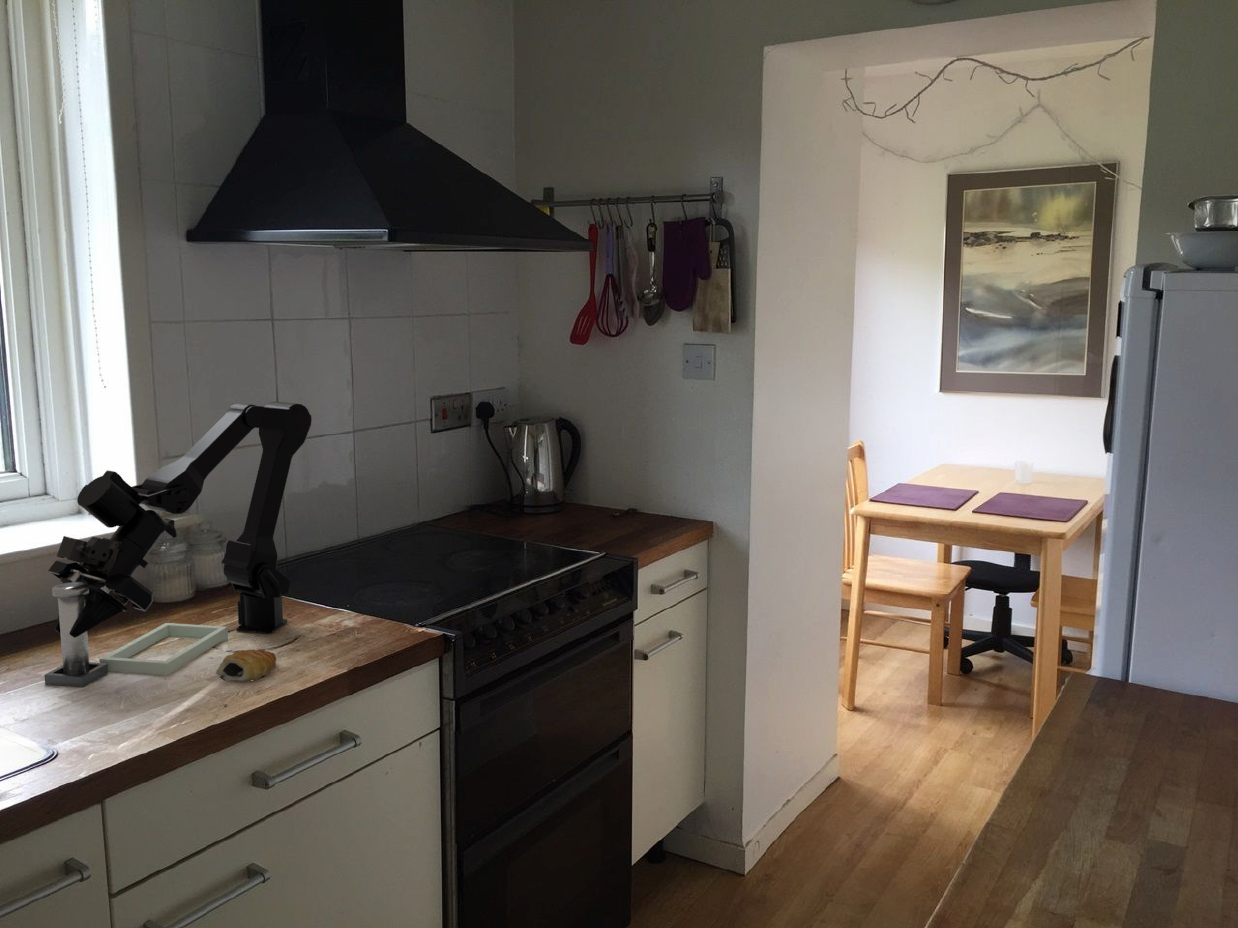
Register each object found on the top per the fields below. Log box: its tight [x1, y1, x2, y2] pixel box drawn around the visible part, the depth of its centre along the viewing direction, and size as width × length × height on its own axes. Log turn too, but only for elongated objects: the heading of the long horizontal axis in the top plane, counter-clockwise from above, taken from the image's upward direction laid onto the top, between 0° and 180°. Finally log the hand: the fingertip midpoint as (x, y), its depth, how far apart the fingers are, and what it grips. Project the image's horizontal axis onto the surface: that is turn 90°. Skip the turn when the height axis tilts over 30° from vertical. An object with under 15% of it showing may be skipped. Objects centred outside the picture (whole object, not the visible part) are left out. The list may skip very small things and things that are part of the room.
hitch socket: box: [44, 661, 109, 689], centre depth 161 cm, size 6×6×2 cm
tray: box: [98, 622, 229, 676], centre depth 173 cm, size 11×18×2 cm, turn 171°
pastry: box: [215, 648, 277, 683], centre depth 167 cm, size 9×7×4 cm
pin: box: [51, 582, 90, 675], centre depth 160 cm, size 5×5×14 cm
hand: (64, 633), depth 159 cm, fingers closed on pin, 3 cm apart
